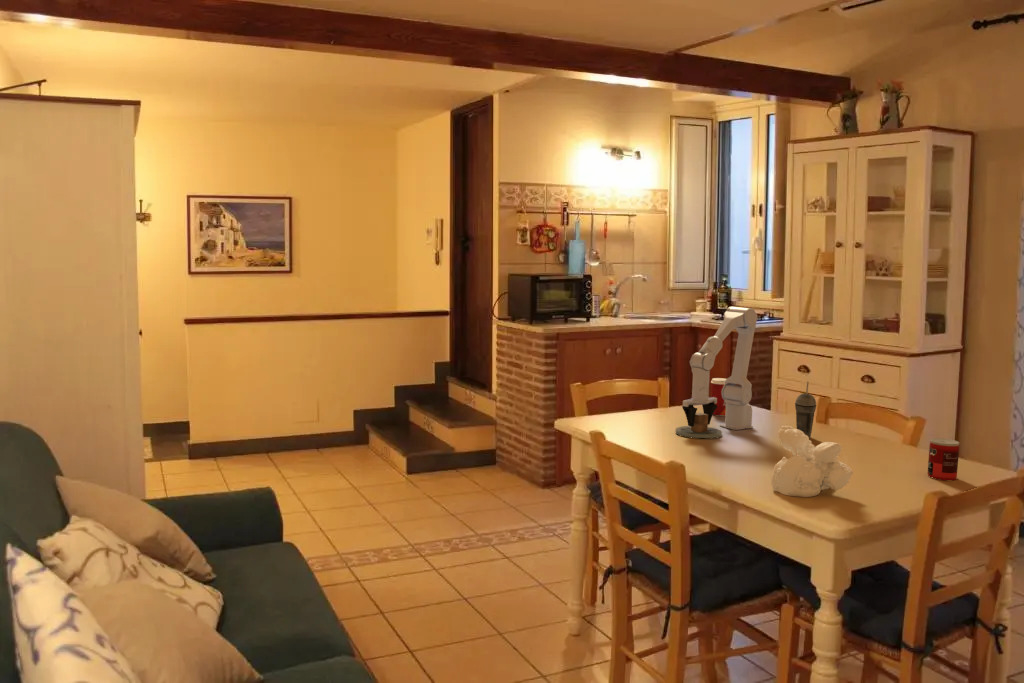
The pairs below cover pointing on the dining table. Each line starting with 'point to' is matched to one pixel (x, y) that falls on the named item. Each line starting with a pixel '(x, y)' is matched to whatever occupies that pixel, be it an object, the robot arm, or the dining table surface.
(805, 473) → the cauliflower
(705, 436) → the dish
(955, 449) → the canned food
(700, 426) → the walnut block
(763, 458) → the dining table surface
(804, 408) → the beverage cup
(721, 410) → the paper cup
